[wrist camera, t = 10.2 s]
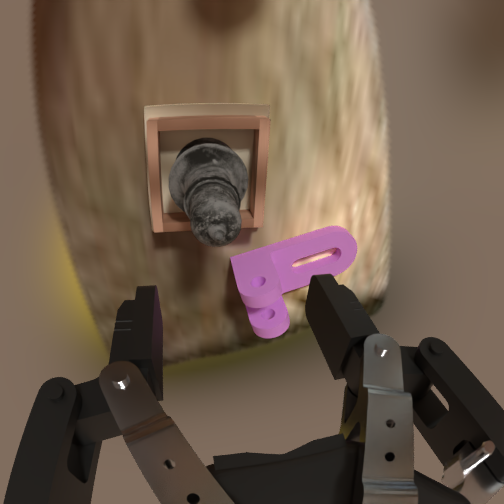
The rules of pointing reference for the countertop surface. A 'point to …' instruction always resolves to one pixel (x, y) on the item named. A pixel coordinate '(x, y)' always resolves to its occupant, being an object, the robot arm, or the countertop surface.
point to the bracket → (287, 274)
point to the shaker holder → (205, 126)
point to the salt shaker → (210, 189)
